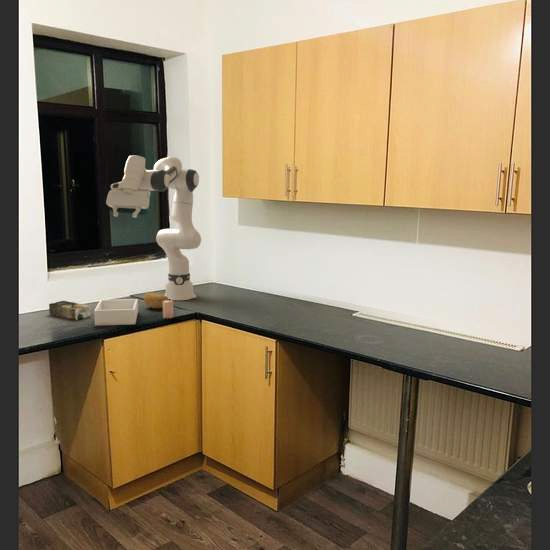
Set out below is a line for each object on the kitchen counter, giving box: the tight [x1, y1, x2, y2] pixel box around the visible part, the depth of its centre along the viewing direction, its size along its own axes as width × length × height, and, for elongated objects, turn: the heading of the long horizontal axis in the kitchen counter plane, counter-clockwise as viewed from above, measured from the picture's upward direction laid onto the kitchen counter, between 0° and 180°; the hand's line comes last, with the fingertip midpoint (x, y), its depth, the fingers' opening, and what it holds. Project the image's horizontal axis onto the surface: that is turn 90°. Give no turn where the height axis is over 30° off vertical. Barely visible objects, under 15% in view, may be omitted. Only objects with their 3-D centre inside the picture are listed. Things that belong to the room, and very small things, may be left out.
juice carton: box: [48, 300, 92, 321], centre depth 270 cm, size 20×10×6 cm, turn 61°
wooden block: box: [162, 300, 174, 320], centre depth 269 cm, size 5×5×8 cm
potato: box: [143, 292, 169, 310], centre depth 287 cm, size 10×14×8 cm
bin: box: [94, 298, 139, 326], centre depth 265 cm, size 22×18×7 cm
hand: (124, 216), depth 250 cm, fingers open, 8 cm apart
